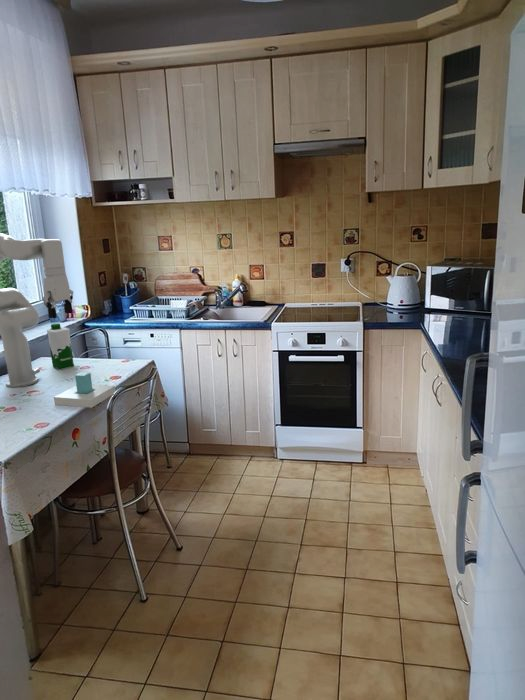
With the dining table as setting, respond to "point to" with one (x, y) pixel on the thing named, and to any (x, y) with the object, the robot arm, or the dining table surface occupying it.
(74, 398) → the white square-hole board
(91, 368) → the dining table surface
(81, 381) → the plug
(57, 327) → the milk carton
